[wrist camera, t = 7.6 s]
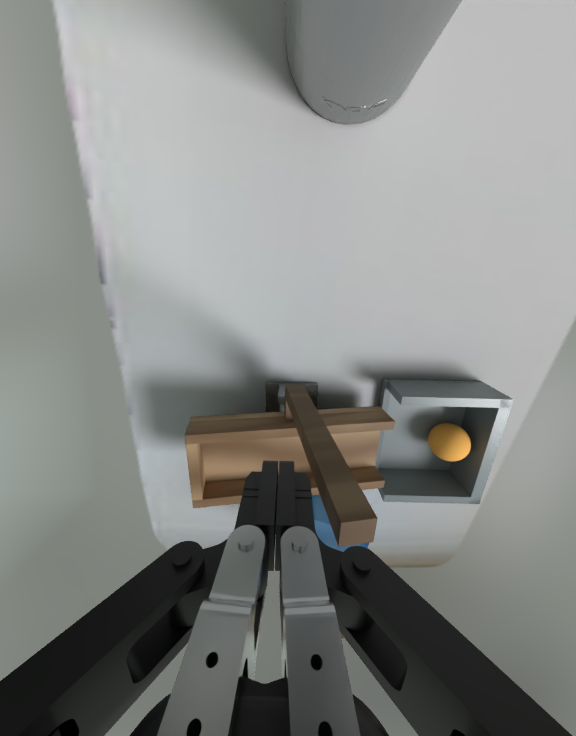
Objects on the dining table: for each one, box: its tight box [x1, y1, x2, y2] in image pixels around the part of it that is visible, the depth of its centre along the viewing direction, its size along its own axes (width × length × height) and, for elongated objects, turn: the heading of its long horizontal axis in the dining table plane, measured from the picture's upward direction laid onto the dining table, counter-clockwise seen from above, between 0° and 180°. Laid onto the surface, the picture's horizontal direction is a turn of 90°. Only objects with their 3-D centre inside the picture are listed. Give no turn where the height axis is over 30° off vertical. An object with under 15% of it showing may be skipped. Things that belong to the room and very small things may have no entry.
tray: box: [375, 379, 514, 504], centre depth 26 cm, size 11×10×4 cm
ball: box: [428, 423, 471, 461], centre depth 26 cm, size 4×4×4 cm
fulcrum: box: [266, 382, 318, 413], centre depth 27 cm, size 10×5×3 cm, turn 179°
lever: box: [185, 384, 395, 547], centre depth 18 cm, size 10×17×14 cm, turn 89°
